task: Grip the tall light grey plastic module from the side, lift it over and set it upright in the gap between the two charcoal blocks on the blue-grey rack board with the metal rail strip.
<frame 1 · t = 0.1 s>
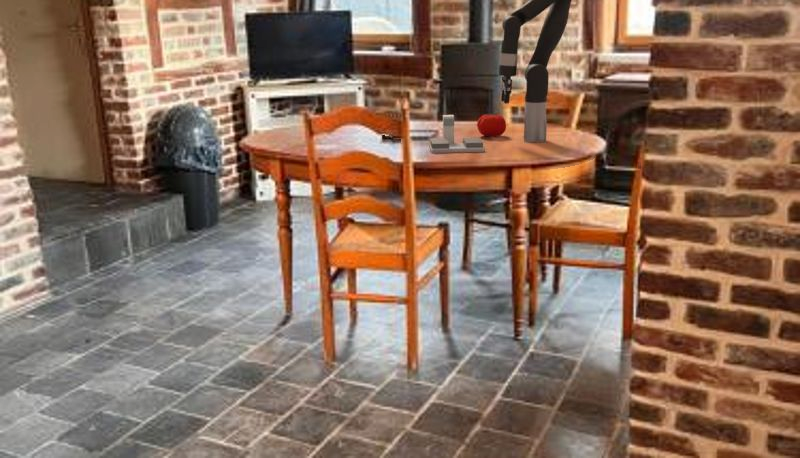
hand: (505, 102, 338), 17 cm above the table, tool pointing down, fingers open, 8 cm apart
grey module: (448, 143, 342), on the table
rack board: (456, 148, 328), on the table
ammunition clip: (393, 139, 355), on the table
tomato: (491, 136, 357), on the table
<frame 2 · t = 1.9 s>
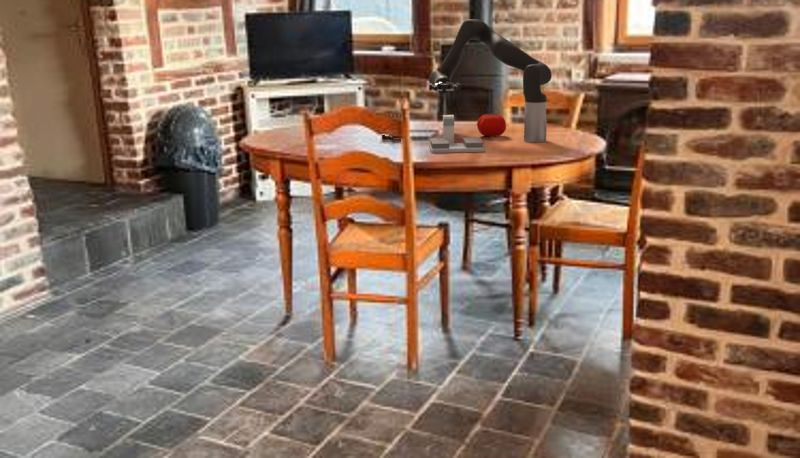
hand: (446, 88, 346), 23 cm above the table, tool horizontal, fingers open, 8 cm apart
nothing on the table moved.
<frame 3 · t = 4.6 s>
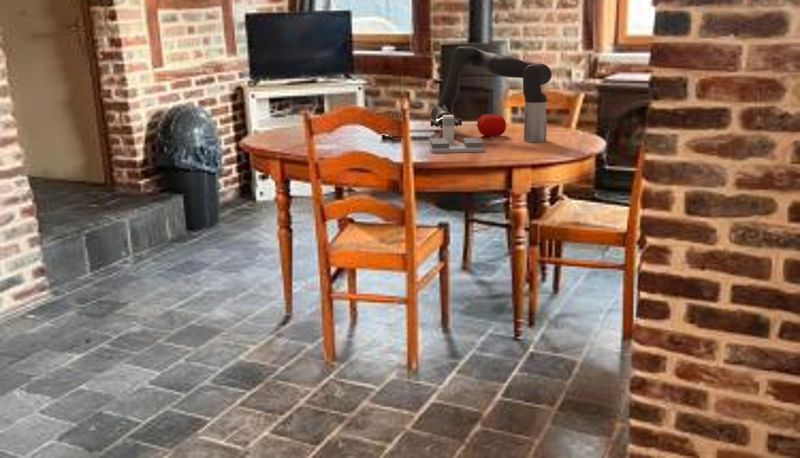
hand: (447, 124, 348), 7 cm above the table, tool horizontal, fingers open, 8 cm apart
nothing on the table moved.
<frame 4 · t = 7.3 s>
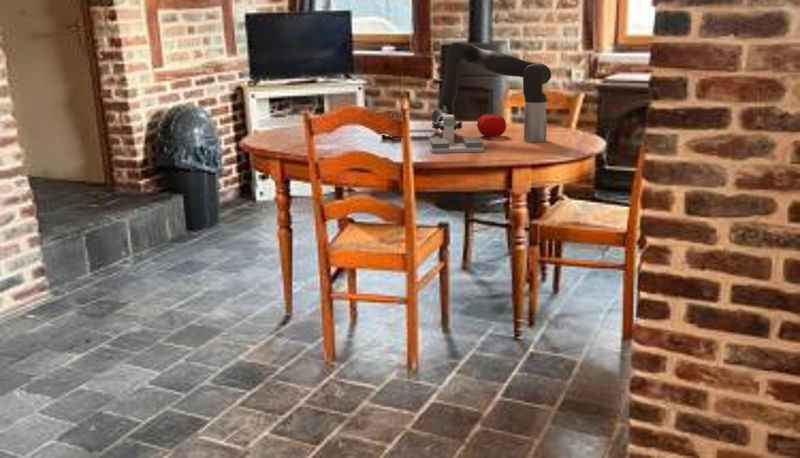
hand: (448, 127, 338), 7 cm above the table, tool horizontal, fingers closed on grey module, 4 cm apart
grey module: (448, 142, 342), on the table, touching gripper
everything else where it was.
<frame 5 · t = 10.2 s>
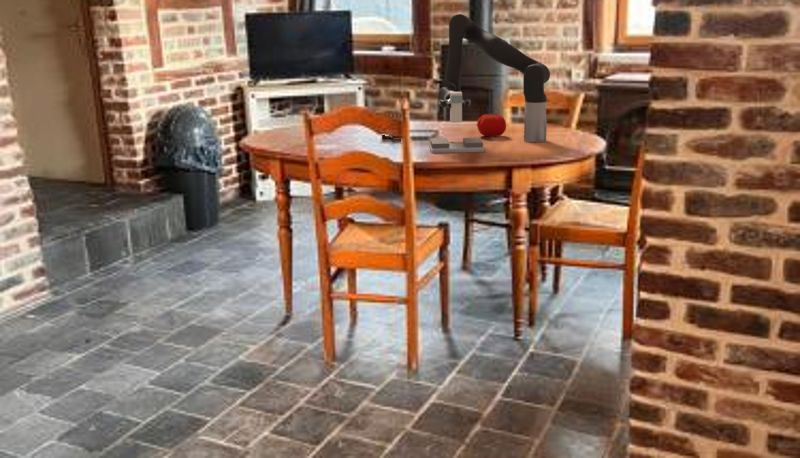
hand: (456, 105, 320), 19 cm above the table, tool horizontal, fingers closed on grey module, 4 cm apart
grey module: (456, 121, 325), point 12 cm above the table, touching gripper
everything else where it was.
when the fingers open (9 cm above the table, at t = 13.0 s): grey module drops 1 cm, resting on rack board.
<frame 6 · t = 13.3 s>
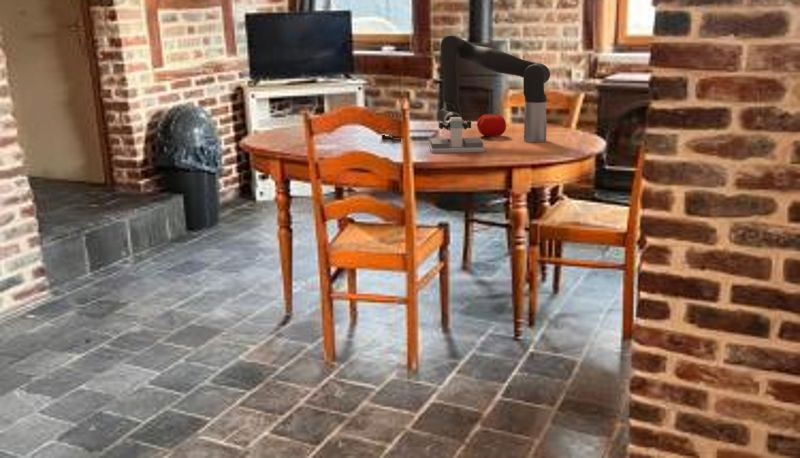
hand: (456, 127, 323), 10 cm above the table, tool horizontal, fingers open, 7 cm apart
grey module: (456, 146, 327), point 1 cm above the table, touching rack board
everything else where it was.
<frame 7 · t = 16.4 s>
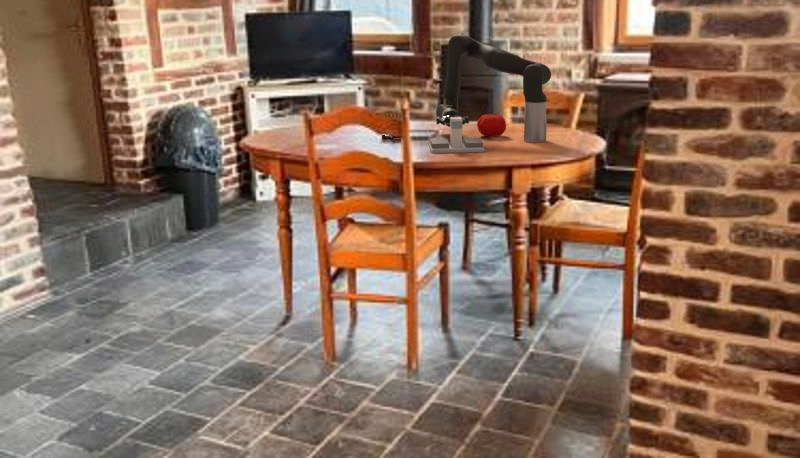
hand: (453, 122, 336), 10 cm above the table, tool horizontal, fingers open, 8 cm apart
nothing on the table moved.
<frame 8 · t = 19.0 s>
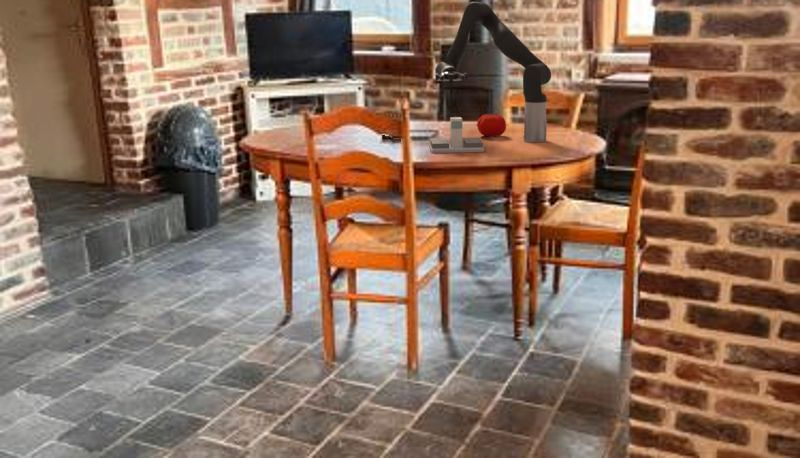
hand: (452, 78, 336), 28 cm above the table, tool horizontal, fingers open, 8 cm apart
nothing on the table moved.
at the end: grey module 0.2 cm off-centre on the rack board, point 1.0 cm above the rack board's base; grey module tilted 0°; the gripper is holding nothing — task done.
